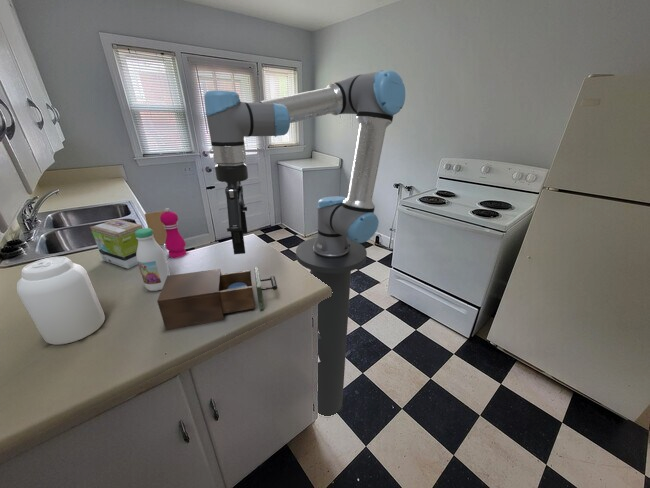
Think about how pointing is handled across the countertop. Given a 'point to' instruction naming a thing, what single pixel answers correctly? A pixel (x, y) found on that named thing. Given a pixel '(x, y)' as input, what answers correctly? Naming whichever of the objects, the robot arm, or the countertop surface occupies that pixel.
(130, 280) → the countertop surface
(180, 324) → the cabinet
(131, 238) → the tea box
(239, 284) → the blue short cylinder
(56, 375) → the countertop surface
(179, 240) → the pepper mill
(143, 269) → the milk bottle
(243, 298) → the drawer
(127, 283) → the countertop surface
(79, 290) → the white plastic jar
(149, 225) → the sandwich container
